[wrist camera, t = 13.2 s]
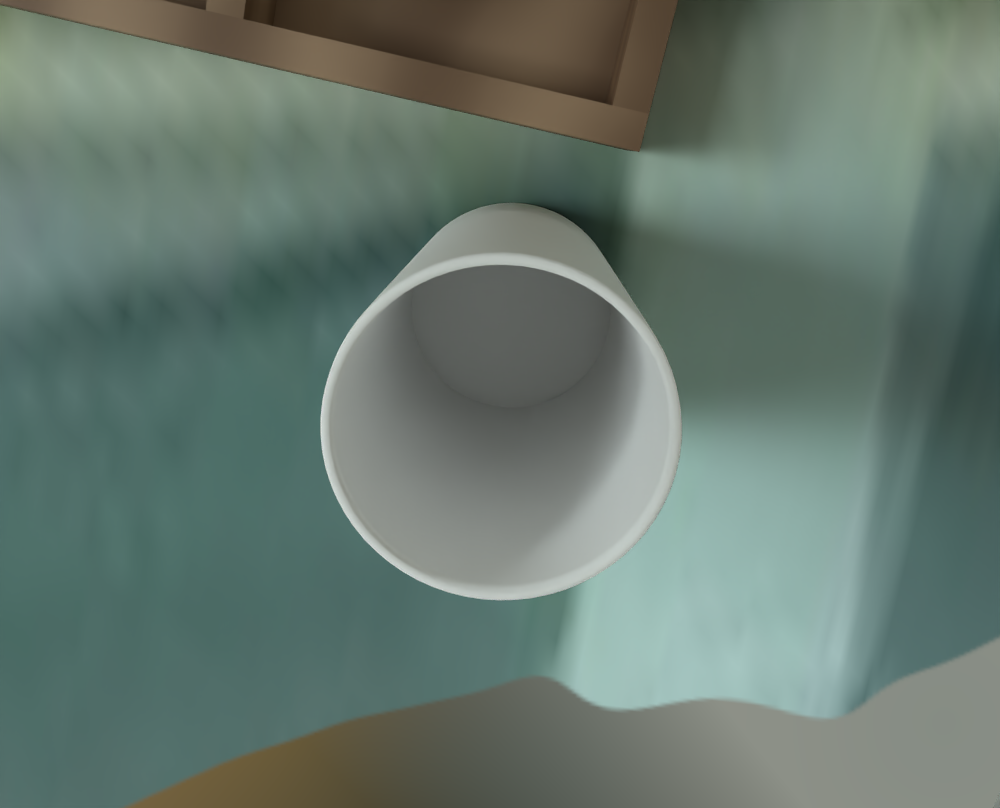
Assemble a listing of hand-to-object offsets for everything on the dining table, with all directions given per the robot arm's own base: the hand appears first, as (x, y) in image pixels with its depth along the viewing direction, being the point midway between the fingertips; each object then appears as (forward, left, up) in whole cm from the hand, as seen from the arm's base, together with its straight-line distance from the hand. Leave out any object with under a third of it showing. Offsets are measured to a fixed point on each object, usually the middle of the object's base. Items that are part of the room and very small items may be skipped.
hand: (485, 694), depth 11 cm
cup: (0, 0, -26) cm, 26 cm away
